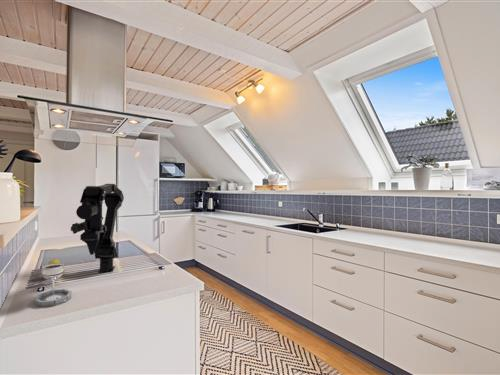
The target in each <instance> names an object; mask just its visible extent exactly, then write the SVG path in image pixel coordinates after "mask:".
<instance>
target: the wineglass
mask: <svg viewBox="0 0 500 375" xmlns="http://www.w3.org/2000/svg"><path fill="white" fill-rule="evenodd" d="M64 265H65V263H63V262H61V263H50V264H48V263H47V264H44V265H42V266H41V268H42V270H41V275H42V277H43V278H44V279H46V280H48V281H50V282H51V287H52V288H51V290H53V295H52V296H49V297H47V298H45V300H47V301H49V300H56V299H59V298H61V295H54V290H55V284H56V283H55V282H56V280H57V279H59V278H61V277H62V276H63V274H64V273H65V268H64Z"/></svg>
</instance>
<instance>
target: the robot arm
mask: <svg viewBox="0 0 500 375" xmlns="http://www.w3.org/2000/svg"><path fill="white" fill-rule="evenodd" d="M124 198H125V197H124V193H123V191H122V190H121V188H118V187H117V184H115V183H104V184H102V185H86V186H85V188H84V189H83V191H82V194H81V197H80V200H79V203H80V206H78V207H77V209H76V212H75V213H76V216H77V217H78V218H79V219H81V220H84V221H82V222H79V223H78V222H75V223H72V224H71V226H70V231H71V232H72V233H73V235H74V234H77V233H78V232H82V233H81V234H80V236H79V237H80V238H79V239H80V241H82V242H84V243H85V244H86V246H87V249H88V252H89V254H90V256H93V255H94V257H95V258H94V259H95V260H96V259H98V260H99V268H98V270H97V273H109V272H108V271H112V272H114V270H115V268H116V266H114V259H117V258H118V249H117V247H116V243H115V241H114V238H113V237H114V231H115V225H116V224H115V223H116V218H117V213H118V210H119V209H120V208H121V207H122V205H123V203H124V200H125V199H124ZM103 204H105V206H106V213H105V218H104V216H103ZM103 220H104V223H103ZM83 231H84V232H83Z"/></svg>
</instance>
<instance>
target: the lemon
mask: <svg viewBox="0 0 500 375" xmlns="http://www.w3.org/2000/svg"><path fill="white" fill-rule="evenodd" d="M50 263H62V262H61V261H60V260H58V259H56V258H55V259H52V260H50V261H49V262H48V263H47V264H50Z"/></svg>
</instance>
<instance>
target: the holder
mask: <svg viewBox="0 0 500 375" xmlns="http://www.w3.org/2000/svg"><path fill="white" fill-rule="evenodd" d="M72 294H73V292H72V291H71V290H69V289H67V288H60V289H59V288H58V289H57V288H56V289H54V295H61V298H59V299H56V300H49V301H47V300H45V298H47V297H49V296H52V295H53V290H52V289H50V290H47V291H45V292H42V293H38V294H37V295H36V296H35V298H34V299H33V303H34V305H35V306H36V307H39V308H49V307H55V306H58V305H63V304H65V303H67V302H68V301H69V300H71V298H72Z"/></svg>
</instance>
